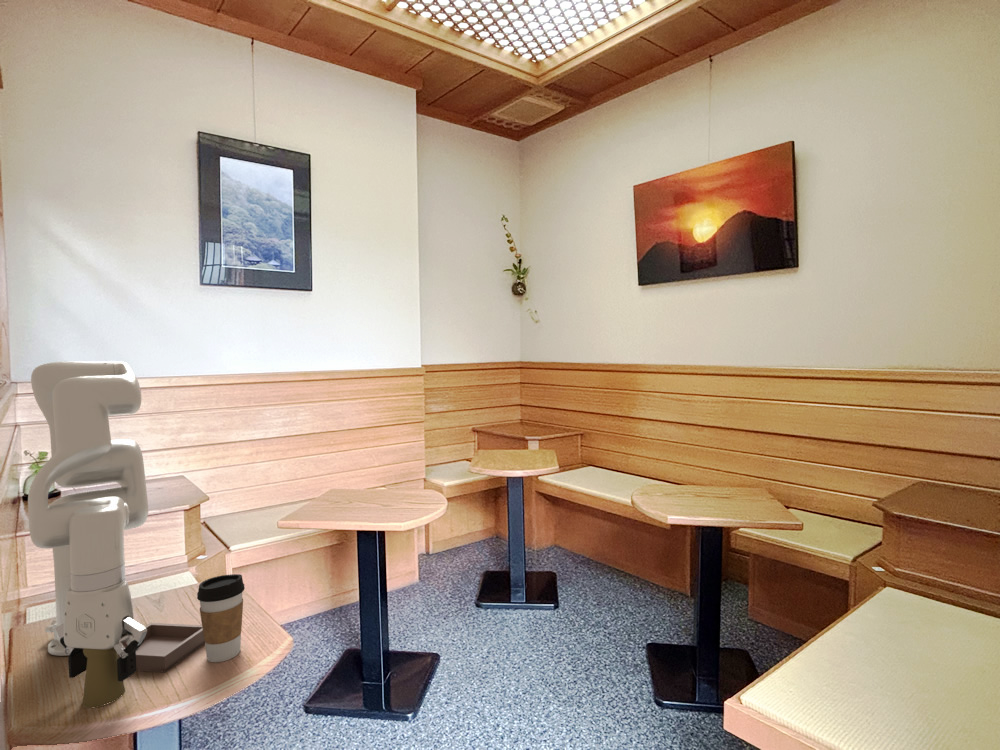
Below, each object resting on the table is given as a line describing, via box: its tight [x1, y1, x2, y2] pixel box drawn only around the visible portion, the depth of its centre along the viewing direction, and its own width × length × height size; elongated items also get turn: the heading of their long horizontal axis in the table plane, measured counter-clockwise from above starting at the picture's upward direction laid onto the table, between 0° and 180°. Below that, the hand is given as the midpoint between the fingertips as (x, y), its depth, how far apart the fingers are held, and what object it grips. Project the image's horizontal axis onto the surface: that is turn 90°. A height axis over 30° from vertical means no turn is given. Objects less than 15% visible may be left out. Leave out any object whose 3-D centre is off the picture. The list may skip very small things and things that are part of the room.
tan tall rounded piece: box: [81, 647, 126, 709], centre depth 92 cm, size 6×6×11 cm
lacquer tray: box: [117, 622, 205, 673], centre depth 106 cm, size 14×12×3 cm
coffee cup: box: [196, 573, 245, 663], centre depth 105 cm, size 8×8×15 cm
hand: (103, 675), depth 92 cm, fingers open, 9 cm apart
